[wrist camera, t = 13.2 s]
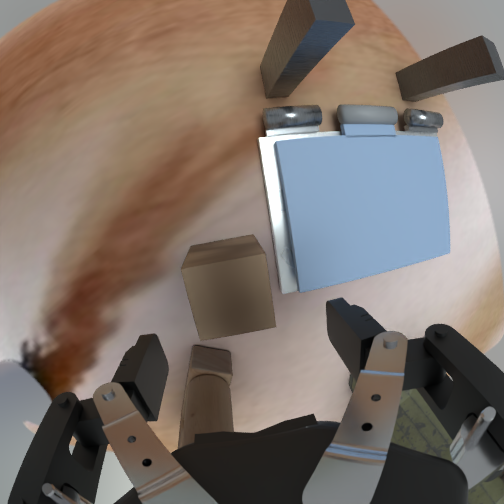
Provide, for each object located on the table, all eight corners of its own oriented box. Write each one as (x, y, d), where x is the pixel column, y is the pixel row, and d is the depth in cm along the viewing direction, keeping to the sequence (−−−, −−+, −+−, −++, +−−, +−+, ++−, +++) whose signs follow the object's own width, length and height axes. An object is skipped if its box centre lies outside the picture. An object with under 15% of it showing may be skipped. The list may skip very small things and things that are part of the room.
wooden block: (180, 415, 26) (172, 557, 8) (192, 343, 23) (177, 537, 6) (212, 420, 26) (220, 561, 9) (232, 350, 24) (256, 540, 7)
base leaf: (280, 289, 23) (331, 382, 11) (244, 68, 18) (269, -27, 6) (437, 250, 24) (521, 287, 13) (417, 76, 19) (501, 48, 8)
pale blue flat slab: (297, 289, 21) (303, 296, 19) (268, 112, 18) (271, 104, 17) (445, 251, 22) (456, 254, 20) (426, 114, 19) (437, 110, 18)
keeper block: (204, 302, 23) (200, 340, 17) (191, 245, 21) (180, 269, 15) (262, 291, 23) (276, 326, 17) (253, 234, 22) (265, 253, 16)
